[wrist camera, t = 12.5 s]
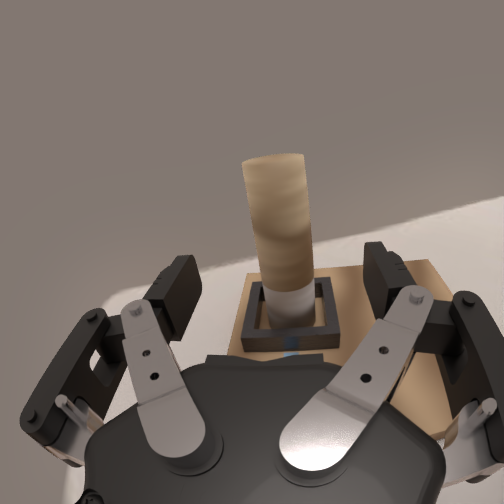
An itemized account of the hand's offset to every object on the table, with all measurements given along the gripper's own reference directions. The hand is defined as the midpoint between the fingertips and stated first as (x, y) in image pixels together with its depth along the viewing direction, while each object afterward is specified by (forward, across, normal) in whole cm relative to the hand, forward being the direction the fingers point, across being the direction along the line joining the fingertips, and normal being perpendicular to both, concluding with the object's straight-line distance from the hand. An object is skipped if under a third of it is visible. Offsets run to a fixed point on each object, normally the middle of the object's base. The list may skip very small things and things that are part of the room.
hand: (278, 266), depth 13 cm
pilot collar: (+5, 0, +8) cm, 9 cm away
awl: (+5, 0, +8) cm, 9 cm away
